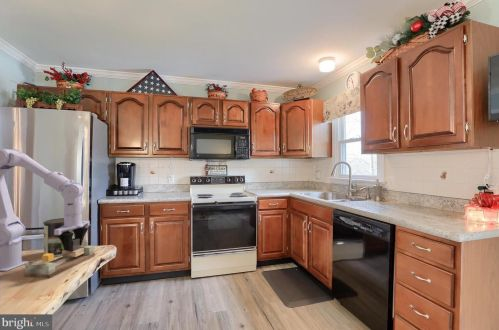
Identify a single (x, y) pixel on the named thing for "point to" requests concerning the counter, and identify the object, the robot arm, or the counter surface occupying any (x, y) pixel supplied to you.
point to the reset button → (47, 257)
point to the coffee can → (53, 237)
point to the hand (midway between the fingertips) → (73, 247)
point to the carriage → (74, 249)
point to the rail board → (57, 264)
